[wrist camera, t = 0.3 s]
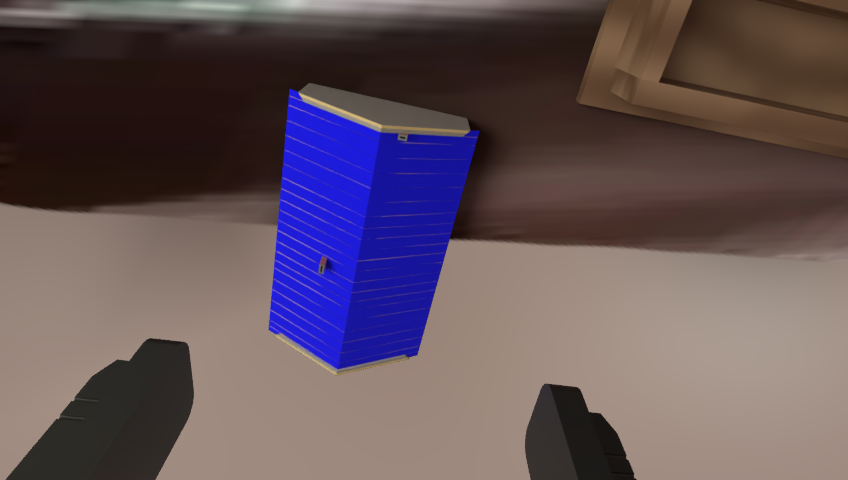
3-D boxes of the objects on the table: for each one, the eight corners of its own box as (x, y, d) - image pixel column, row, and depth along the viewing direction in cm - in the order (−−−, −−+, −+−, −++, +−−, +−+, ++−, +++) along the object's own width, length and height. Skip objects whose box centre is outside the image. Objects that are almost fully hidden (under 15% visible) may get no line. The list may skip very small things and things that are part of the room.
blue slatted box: (299, 80, 37) (273, 101, 31) (475, 119, 38) (485, 147, 32) (277, 309, 47) (254, 362, 41) (417, 334, 49) (416, 388, 42)
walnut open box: (636, -82, 32) (678, -94, 27) (958, -3, 34) (1057, -1, 29) (575, 100, 37) (600, 119, 32) (856, 158, 40) (922, 185, 34)
